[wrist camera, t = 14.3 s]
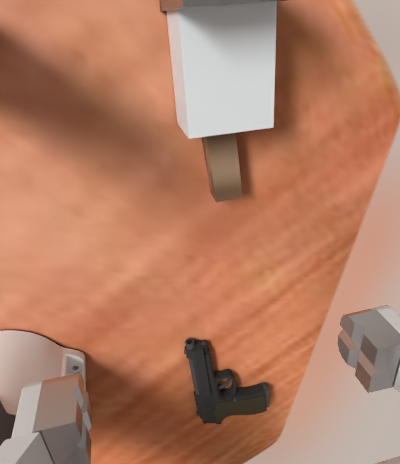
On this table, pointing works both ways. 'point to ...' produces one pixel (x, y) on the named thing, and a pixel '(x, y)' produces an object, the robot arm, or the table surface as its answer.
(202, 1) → the wall
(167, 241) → the table surface
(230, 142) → the walnut bar
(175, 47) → the tunnel block
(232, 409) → the handgun
